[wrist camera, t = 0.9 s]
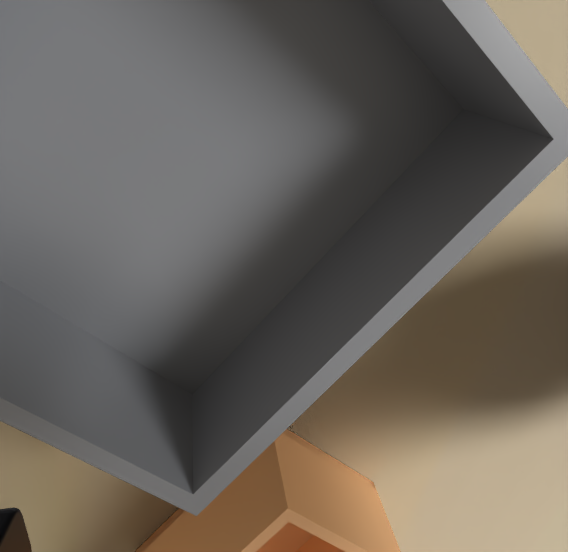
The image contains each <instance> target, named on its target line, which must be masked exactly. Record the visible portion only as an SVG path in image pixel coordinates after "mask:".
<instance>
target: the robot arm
mask: <svg viewBox="0 0 568 552" xmlns="http://www.w3.org/2000/svg"><path fill="white" fill-rule="evenodd" d="M0 552H32V550H31V544H30V541H29V537H28V533H27V530H26V526H25V523H24V519H23V516H22V513H21V511H20V510H19V509H17V508H7V509H0Z"/></svg>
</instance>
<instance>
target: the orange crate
mask: <svg viewBox="0 0 568 552" xmlns="http://www.w3.org/2000/svg"><path fill="white" fill-rule="evenodd" d="M135 552H401V551H400V549H399V546H398V544H397V541H396V539H395V536H394V534H393V531H392V529H391V526H390V523H389V521H388V518H387V516H386V513H385V511H384V508H383V506H382V503H381V501H380V498H379V496H378V493H377V491H376V488H375V486H374V483H373V482H372V481H370V480H369V479H367V478H366V477H364V476H362V475H361V474H359V473H357V472H356V471H354V470H353V469H351V468H349V467H348V466H346V465H345V464H343V463H341V462H340V461H338V460H336V459H335V458H333V457H332V456H330V455H328V454H327V453H325V452H323V451H322V450H320V449H319V448H317V447H315V446H314V445H312V444H311V443H309V442H307V441H306V440H304V439H302V438H301V437H299V436H298V435H296V434H294V433H293V432H291V431H289V430H288V429H286V430H285V431H284V432H283V433H282V434H281V435H280V436H279V437H278V438H277V439H276V440H275V441H274V442H273V443H272V444H271V445H270V446H268V447H267V448H266V449H265V450H264V451H263V452H262V453H261V454H260V455H259V456H258V457H257V458H256V459H255V460H254V461H253V462H252V463H251V464H250V465H249V466H248V467H247V468H246V469H245V470H244V471H243V472H242V473H241V474H240V475H239V476H238V477H236V478H235V479H234V480H233V481H232V482H231V483H230V484H229V485H228V486H227V487H226V488H225V489H224V490H223V491H222V492H221V493H220V494H219V495H218V496H217V497H216V498H215V499H214V500H213V501H212V502H211V503H210V504H209V505H208V506H207V507H206V508H205V509H203V510H202V511H201V512H200V513H199V514H198V515H197V516H195V515H193V514H191V513H189V512H187V511H185V510H183V509H181V508H179V509H178V510H177V511H176V512H175V513H174V514H172V515H171V516H170V517H169V518H168V519H167V520H166V521H165V522H164V523H163V524H162V525H161V526H160V527H159V528H158V529H157V530H156V531H155V532H154V533H153V534H152V535H151V536H150V537H149V538H148V539H147V540H146V541H145V542H144V543H143V544H142V545H141V546H140V547H139V548H138V549H137V550H136V551H135Z"/></svg>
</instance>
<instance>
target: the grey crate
mask: <svg viewBox="0 0 568 552" xmlns="http://www.w3.org/2000/svg"><path fill="white" fill-rule="evenodd" d="M567 157H568V109H567V107H566V106H565V105H564V103H563V102H562V101H561V99H560V98H559V97H558V96H557V94H556V93H555V92H554V90H553V89H552V88H551V86H550V85H549V84H548V82H547V81H546V80H545V79H544V77H543V76H542V75H541V73H540V72H539V71H538V69H537V68H536V67H535V65H534V64H533V63H532V62H531V60H530V59H529V58H528V56H527V55H526V54H525V52H524V51H523V50H522V48H521V47H520V46H519V45H518V43H517V42H516V41H515V39H514V38H513V37H512V35H511V34H510V33H509V31H508V30H507V29H506V27H505V26H504V25H503V24H502V22H501V21H500V20H499V18H498V17H497V16H496V14H495V13H494V12H493V10H492V9H491V8H490V7H489V5H488V4H487V3H486V1H485V0H0V421H2V422H4V423H6V424H8V425H10V426H12V427H14V428H16V429H18V430H20V431H22V432H24V433H26V434H28V435H30V436H32V437H35V438H37V439H39V440H41V441H43V442H45V443H47V444H49V445H51V446H53V447H55V448H57V449H59V450H61V451H63V452H65V453H67V454H70V455H72V456H74V457H76V458H78V459H80V460H82V461H84V462H86V463H88V464H90V465H92V466H94V467H96V468H98V469H100V470H102V471H105V472H107V473H109V474H111V475H113V476H115V477H117V478H119V479H121V480H123V481H125V482H127V483H129V484H131V485H133V486H135V487H137V488H140V489H142V490H144V491H146V492H148V493H150V494H152V495H154V496H156V497H158V498H160V499H162V500H164V501H166V502H168V503H170V504H172V505H175V506H177V507H179V508H181V509H183V510H185V511H187V512H189V513H191V514H193V515H195V516H197V515H198V514H199V513H200V512H201V511H202V510H203V509H205V508H206V507H207V506H208V505H209V504H210V503H211V502H212V501H213V500H214V499H215V498H216V497H217V496H218V495H219V494H220V493H221V492H222V491H223V490H224V489H225V488H226V487H227V486H228V485H229V484H230V483H231V482H232V481H233V480H234V479H235V478H236V477H238V476H239V475H240V474H241V473H242V472H243V471H244V470H245V469H246V468H247V467H248V466H249V465H250V464H251V463H252V462H253V461H254V460H255V459H256V458H257V457H258V456H259V455H260V454H261V453H262V452H263V451H264V450H265V449H266V448H267V447H268V446H270V445H271V444H272V443H273V442H274V441H275V440H276V439H277V438H278V437H279V436H280V435H281V434H282V433H283V432H284V431H285V430H286V429H287V428H288V427H289V426H290V425H291V424H292V423H293V422H294V421H295V420H296V419H297V418H298V417H299V416H300V415H301V414H303V413H304V412H305V411H306V410H307V409H308V408H309V407H310V406H311V405H312V404H313V403H314V402H315V401H316V400H317V399H318V398H319V397H320V396H321V395H322V394H323V393H324V392H325V391H326V390H327V389H328V388H329V387H330V386H331V385H332V384H333V383H335V382H336V381H337V380H338V379H339V378H340V377H341V376H342V375H343V374H344V373H345V372H346V371H347V370H348V369H349V368H350V367H351V366H352V365H353V364H354V363H355V362H356V361H357V360H358V359H359V358H360V357H361V356H362V355H363V354H364V353H365V352H366V351H368V350H369V349H370V348H371V347H372V346H373V345H374V344H375V343H376V342H377V341H378V340H379V339H380V338H381V337H382V336H383V335H384V334H385V333H386V332H387V331H388V330H389V329H390V328H391V327H392V326H393V325H394V324H395V323H396V322H397V321H398V320H399V319H401V318H402V317H403V316H404V315H405V314H406V313H407V312H408V311H409V310H410V309H411V308H412V307H413V306H414V305H415V304H416V303H417V302H418V301H419V300H420V299H421V298H422V297H423V296H424V295H425V294H426V293H427V292H428V291H429V290H430V289H431V288H433V287H434V286H435V285H436V284H437V283H438V282H439V281H440V280H441V279H442V278H443V277H444V276H445V275H446V274H447V273H448V272H449V271H450V270H451V269H452V268H453V267H454V266H455V265H456V264H457V263H458V262H459V261H460V260H461V259H462V258H463V257H464V256H466V255H467V254H468V253H469V252H470V251H471V250H472V249H473V248H474V247H475V246H476V245H477V244H478V243H479V242H480V241H481V240H482V239H483V238H484V237H485V236H486V235H487V234H488V233H489V232H490V231H491V230H492V229H493V228H494V227H495V226H496V225H498V224H499V223H500V222H501V221H502V220H503V219H504V218H505V217H506V216H507V215H508V214H509V213H510V212H511V211H512V210H513V209H514V208H515V207H516V206H517V205H518V204H519V203H520V202H521V201H522V200H523V199H524V198H525V197H526V196H527V195H528V194H529V193H531V192H532V191H533V190H534V189H535V188H536V187H537V186H538V185H539V184H540V183H541V182H542V181H543V180H544V179H545V178H546V177H547V176H548V175H549V174H550V173H551V172H552V171H553V170H554V169H555V168H556V167H557V166H558V165H559V164H560V163H561V162H562V161H564V160H565V159H566V158H567Z"/></svg>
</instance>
